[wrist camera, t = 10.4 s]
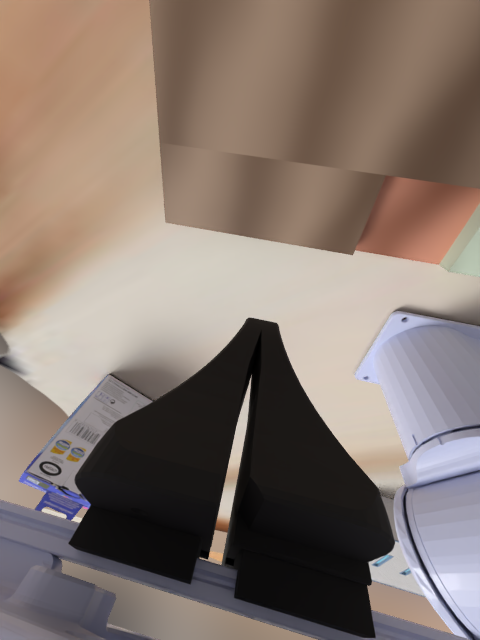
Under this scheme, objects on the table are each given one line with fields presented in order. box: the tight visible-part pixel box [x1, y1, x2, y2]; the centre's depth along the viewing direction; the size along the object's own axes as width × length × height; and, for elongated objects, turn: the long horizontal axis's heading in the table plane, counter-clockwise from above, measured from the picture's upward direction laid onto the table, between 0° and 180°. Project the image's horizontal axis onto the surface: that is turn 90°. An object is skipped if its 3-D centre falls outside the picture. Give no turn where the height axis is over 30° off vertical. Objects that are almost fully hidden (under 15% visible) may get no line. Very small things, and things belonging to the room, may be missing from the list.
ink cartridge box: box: [19, 375, 153, 520], centre depth 28 cm, size 10×6×14 cm, turn 49°
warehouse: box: [369, 496, 426, 597], centre depth 38 cm, size 30×14×8 cm, turn 79°
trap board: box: [149, 0, 480, 277], centre depth 11 cm, size 28×16×2 cm, turn 84°
